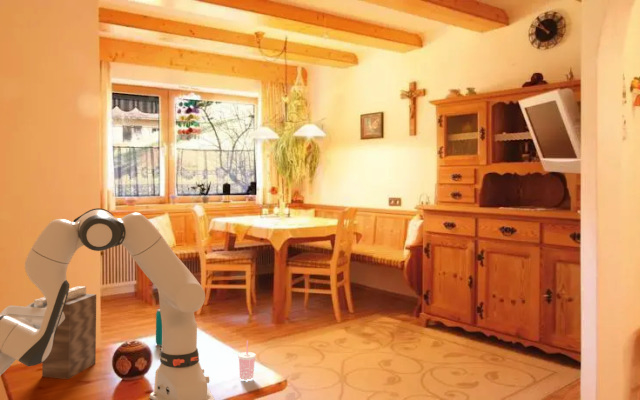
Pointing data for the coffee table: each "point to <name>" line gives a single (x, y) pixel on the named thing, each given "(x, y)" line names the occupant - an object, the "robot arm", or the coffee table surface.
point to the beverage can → (158, 328)
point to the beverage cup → (246, 364)
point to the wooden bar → (72, 294)
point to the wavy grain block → (73, 340)
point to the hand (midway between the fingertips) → (45, 300)
